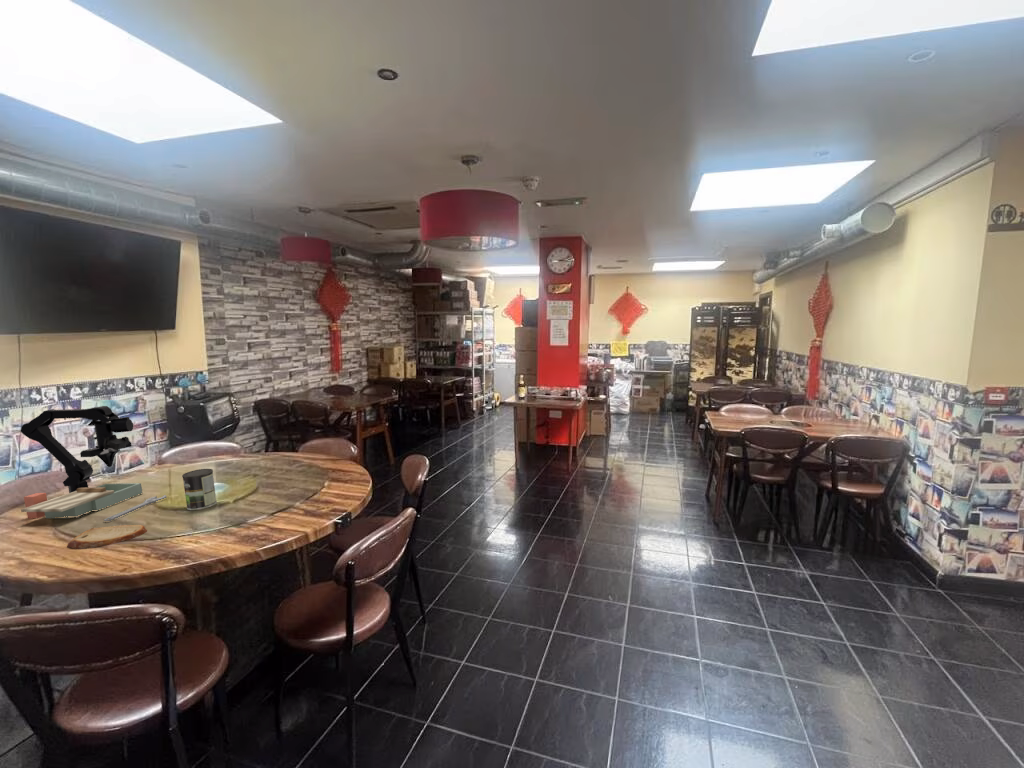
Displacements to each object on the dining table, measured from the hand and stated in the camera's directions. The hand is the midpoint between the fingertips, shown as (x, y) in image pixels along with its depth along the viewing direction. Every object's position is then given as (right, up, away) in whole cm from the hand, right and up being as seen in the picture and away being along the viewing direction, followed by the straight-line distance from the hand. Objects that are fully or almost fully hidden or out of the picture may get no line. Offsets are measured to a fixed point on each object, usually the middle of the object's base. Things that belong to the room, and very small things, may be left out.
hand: (109, 466), depth 204 cm
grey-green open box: (+8, -14, -15) cm, 22 cm away
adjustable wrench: (+31, -14, -22) cm, 41 cm away
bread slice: (+44, -16, -49) cm, 68 cm away
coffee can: (+58, -12, -22) cm, 63 cm away
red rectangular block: (-6, -15, -25) cm, 30 cm away
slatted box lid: (+7, -10, -25) cm, 27 cm away
